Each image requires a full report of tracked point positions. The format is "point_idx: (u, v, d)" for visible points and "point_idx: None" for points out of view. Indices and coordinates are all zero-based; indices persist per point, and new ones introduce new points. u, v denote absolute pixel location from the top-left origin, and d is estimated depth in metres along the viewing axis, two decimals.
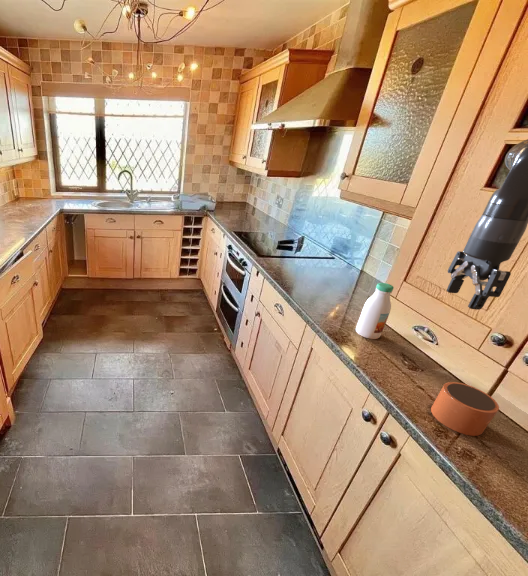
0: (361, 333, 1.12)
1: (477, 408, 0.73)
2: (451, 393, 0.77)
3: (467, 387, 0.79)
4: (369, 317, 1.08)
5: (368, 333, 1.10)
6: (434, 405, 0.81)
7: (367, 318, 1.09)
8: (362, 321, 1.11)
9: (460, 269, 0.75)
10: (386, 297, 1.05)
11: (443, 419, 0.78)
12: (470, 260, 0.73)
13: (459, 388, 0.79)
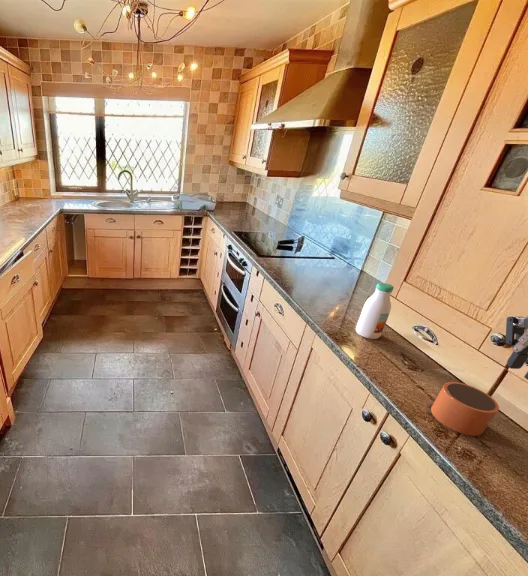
0: (361, 333, 1.12)
1: (477, 408, 0.73)
2: (451, 393, 0.77)
3: (467, 387, 0.79)
4: (369, 317, 1.08)
5: (368, 333, 1.10)
6: (434, 405, 0.81)
7: (367, 318, 1.09)
8: (362, 321, 1.11)
9: (526, 338, 0.61)
10: (386, 297, 1.05)
11: (443, 419, 0.78)
12: None
13: (459, 388, 0.79)
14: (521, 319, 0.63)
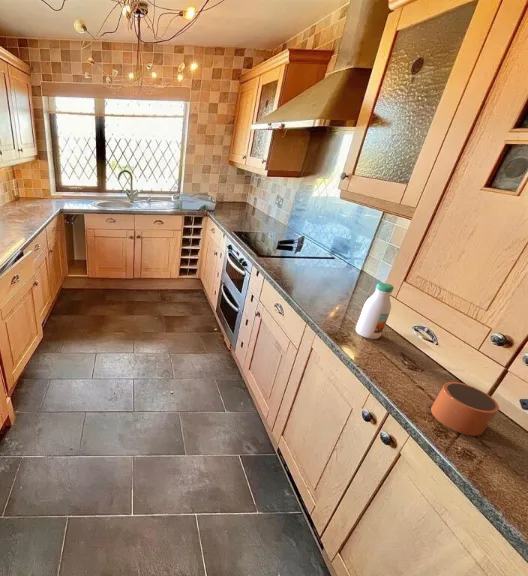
0: (361, 333, 1.12)
1: (477, 408, 0.73)
2: (451, 393, 0.77)
3: (467, 387, 0.79)
4: (369, 317, 1.08)
5: (368, 333, 1.10)
6: (434, 405, 0.81)
7: (367, 318, 1.09)
8: (362, 321, 1.11)
9: None
10: (386, 297, 1.05)
11: (443, 419, 0.78)
12: None
13: (459, 388, 0.79)
14: None
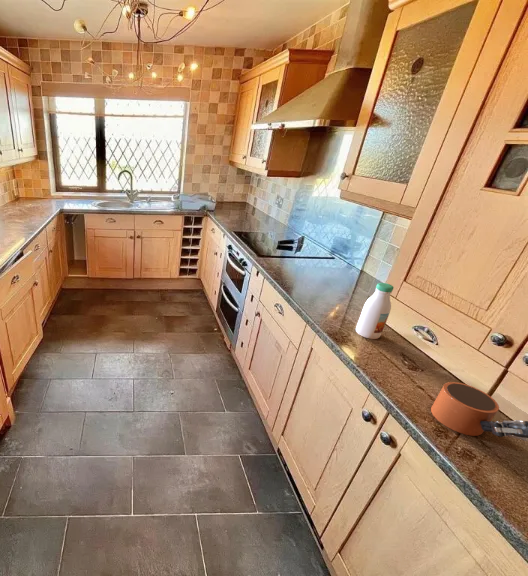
0: (361, 333, 1.12)
1: (477, 408, 0.73)
2: (450, 393, 0.77)
3: (467, 387, 0.79)
4: (369, 317, 1.08)
5: (368, 333, 1.10)
6: (434, 405, 0.81)
7: (367, 318, 1.09)
8: (362, 321, 1.11)
9: (520, 438, 0.65)
10: (386, 297, 1.05)
11: (443, 419, 0.78)
12: None
13: (459, 388, 0.79)
14: (509, 432, 0.64)
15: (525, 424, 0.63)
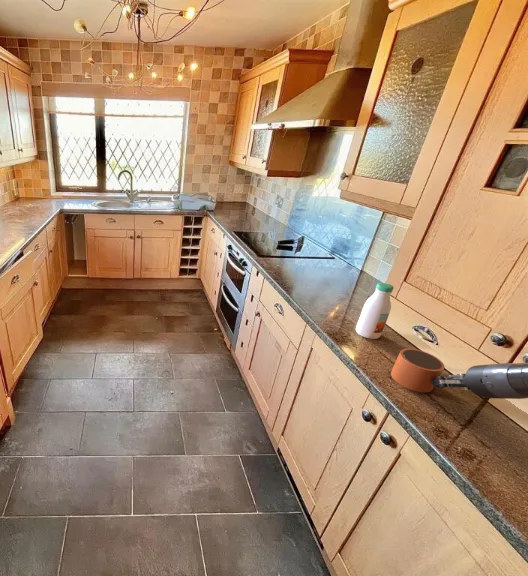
0: (361, 333, 1.12)
1: (429, 368, 0.85)
2: (407, 358, 0.89)
3: (417, 352, 0.92)
4: (369, 317, 1.08)
5: (368, 333, 1.10)
6: (394, 371, 0.93)
7: (367, 318, 1.09)
8: (362, 321, 1.11)
9: None
10: (386, 297, 1.05)
11: (403, 382, 0.90)
12: (468, 386, 0.75)
13: (411, 353, 0.91)
14: (451, 383, 0.76)
15: (463, 376, 0.76)
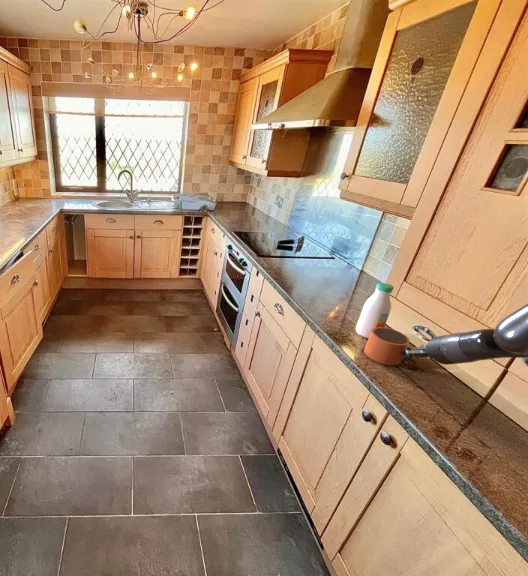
0: (361, 333, 1.12)
1: (400, 343, 0.95)
2: (380, 337, 0.98)
3: (383, 329, 1.02)
4: (369, 317, 1.08)
5: (368, 333, 1.10)
6: (368, 349, 1.02)
7: (367, 318, 1.09)
8: (362, 321, 1.11)
9: (424, 358, 0.88)
10: (386, 297, 1.05)
11: (378, 358, 0.99)
12: (430, 355, 0.85)
13: (380, 331, 1.01)
14: (415, 353, 0.87)
15: None
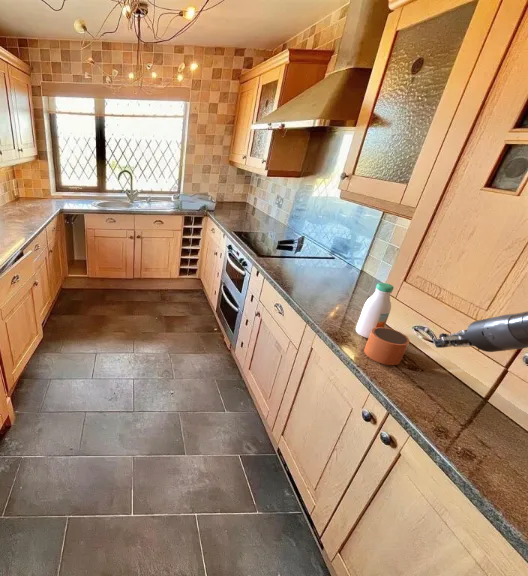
0: (361, 333, 1.12)
1: (400, 343, 0.95)
2: (380, 337, 0.98)
3: (383, 329, 1.02)
4: (369, 317, 1.08)
5: (368, 333, 1.10)
6: (368, 349, 1.02)
7: (367, 318, 1.09)
8: (362, 321, 1.11)
9: (462, 346, 0.77)
10: (386, 297, 1.05)
11: (378, 358, 0.99)
12: (470, 342, 0.75)
13: (380, 331, 1.01)
14: (452, 340, 0.76)
15: None
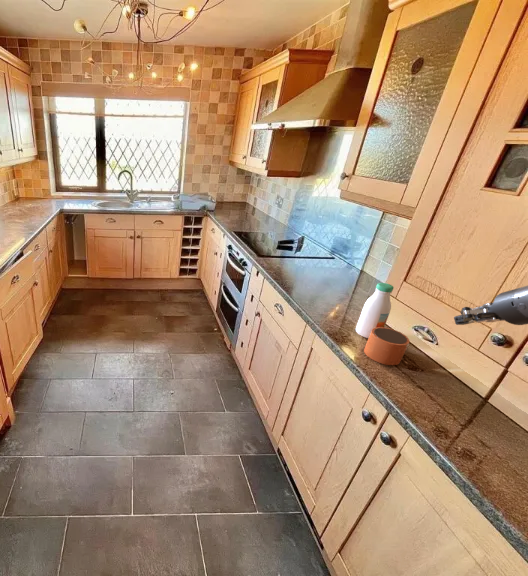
0: (361, 333, 1.12)
1: (400, 343, 0.95)
2: (380, 337, 0.98)
3: (383, 329, 1.02)
4: (369, 317, 1.08)
5: (368, 333, 1.10)
6: (368, 349, 1.02)
7: (367, 318, 1.09)
8: (362, 321, 1.11)
9: (487, 320, 0.72)
10: (386, 297, 1.05)
11: (378, 358, 0.99)
12: (496, 315, 0.69)
13: (380, 331, 1.01)
14: (477, 313, 0.70)
15: None
